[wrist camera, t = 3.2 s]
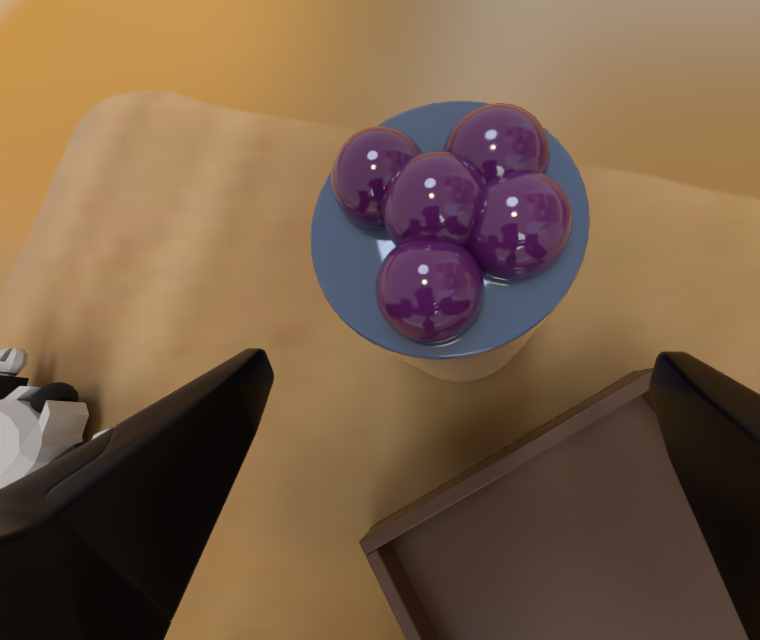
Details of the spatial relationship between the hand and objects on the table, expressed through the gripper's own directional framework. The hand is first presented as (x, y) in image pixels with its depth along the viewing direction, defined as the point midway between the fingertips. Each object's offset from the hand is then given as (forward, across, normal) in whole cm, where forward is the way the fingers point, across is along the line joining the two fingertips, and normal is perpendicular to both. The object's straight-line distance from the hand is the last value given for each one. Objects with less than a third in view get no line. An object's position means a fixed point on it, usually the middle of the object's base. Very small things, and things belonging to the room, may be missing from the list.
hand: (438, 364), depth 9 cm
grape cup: (+10, 0, +5) cm, 11 cm away
